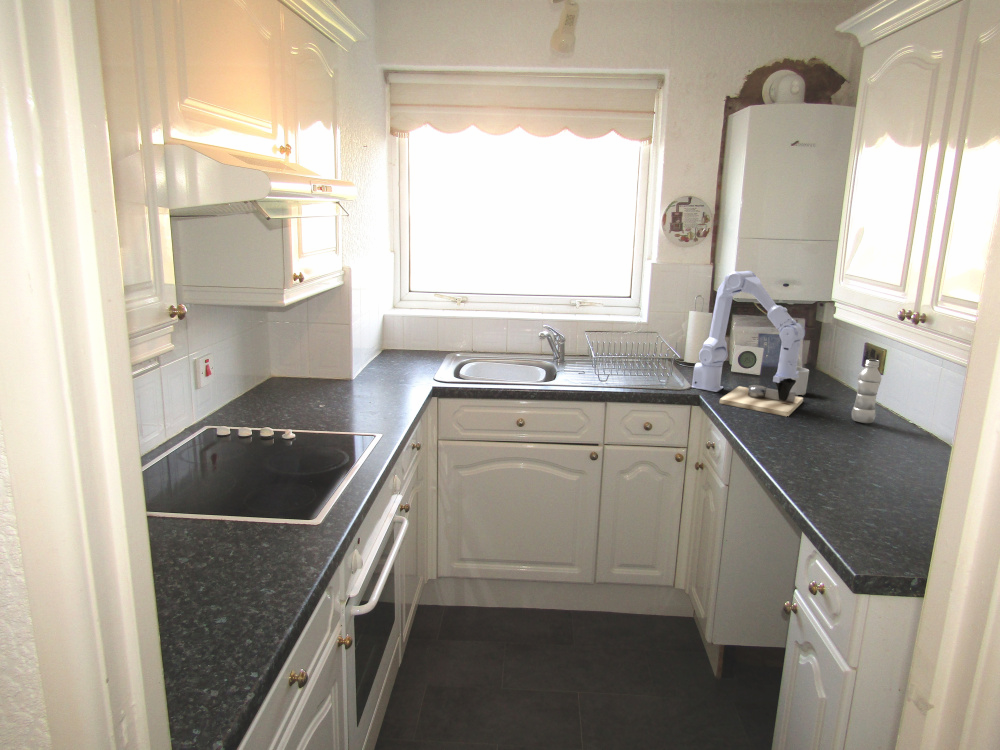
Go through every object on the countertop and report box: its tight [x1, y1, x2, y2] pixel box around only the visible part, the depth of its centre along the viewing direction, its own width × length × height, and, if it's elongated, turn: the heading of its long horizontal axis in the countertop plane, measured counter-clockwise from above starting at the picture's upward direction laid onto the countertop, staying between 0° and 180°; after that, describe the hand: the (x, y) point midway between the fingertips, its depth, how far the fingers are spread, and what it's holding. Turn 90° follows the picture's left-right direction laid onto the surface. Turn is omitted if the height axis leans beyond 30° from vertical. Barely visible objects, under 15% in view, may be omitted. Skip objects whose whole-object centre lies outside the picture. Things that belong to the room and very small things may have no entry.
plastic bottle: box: [851, 358, 883, 424], centre depth 213 cm, size 6×7×20 cm
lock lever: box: [748, 384, 797, 403], centre depth 232 cm, size 15×6×3 cm, turn 58°
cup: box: [790, 366, 810, 396], centre depth 246 cm, size 7×10×9 cm
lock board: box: [718, 385, 804, 417], centre depth 233 cm, size 22×22×2 cm
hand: (782, 400), depth 228 cm, fingers closed
